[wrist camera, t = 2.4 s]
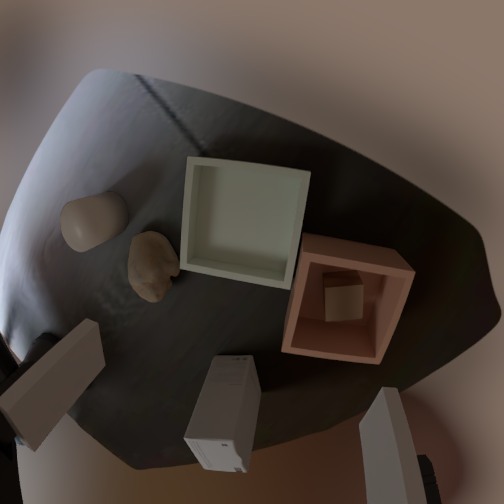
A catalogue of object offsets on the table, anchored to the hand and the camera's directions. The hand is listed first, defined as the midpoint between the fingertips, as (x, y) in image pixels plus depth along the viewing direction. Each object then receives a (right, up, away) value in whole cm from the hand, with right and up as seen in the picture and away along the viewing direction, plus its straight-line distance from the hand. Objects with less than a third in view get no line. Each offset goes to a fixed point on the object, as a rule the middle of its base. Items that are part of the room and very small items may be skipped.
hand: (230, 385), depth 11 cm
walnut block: (+11, +2, +21) cm, 23 cm away
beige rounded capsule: (-18, +11, +23) cm, 31 cm away
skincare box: (-1, -12, +28) cm, 31 cm away
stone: (-11, +5, +24) cm, 27 cm away
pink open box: (+11, +2, +21) cm, 24 cm away
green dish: (0, +9, +20) cm, 23 cm away
